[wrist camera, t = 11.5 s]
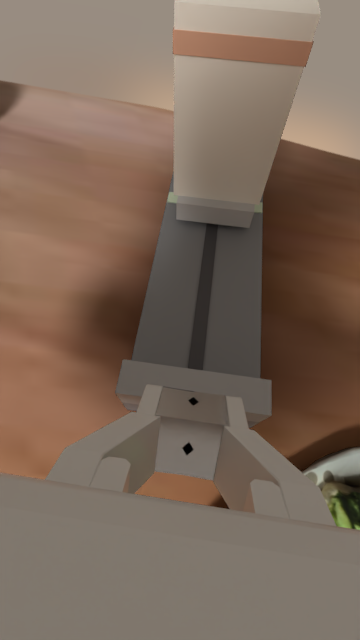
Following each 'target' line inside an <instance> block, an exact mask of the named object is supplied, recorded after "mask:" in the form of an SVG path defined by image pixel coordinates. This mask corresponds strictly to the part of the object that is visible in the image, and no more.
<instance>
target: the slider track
mask: <svg viewBox="0 0 360 640" xmlns="http://www.w3.org/2000/svg"><path fill="white" fill-rule="evenodd" d="M177 199H178V195H174V171H173V176H172V180H171V185H170V189H169V194H168V198H167V203H166V207H165V211H164V216H163V220H162V225H161V229H160V234H159V238H158V243H157V247H156V252H155V256H154V261H153V265H152V269H151V274H150V278H149V283H148V287H147V292H146V296H145V301H144V305H143V310H142V314H141V319H140V323H139V328H138V332H137V336H136V341H135V345H134V350H133V354H132V359H131V360H124V359H123V361H122V366H121V370H120V374H119V378H118V383H117V387H116V391H115V394H116V395H117V396H118V398H119V399H120V400H121V402H122V403H123V405H124V406H125V407H126V409H127V410H133V411H137V409H138V406H139V403H140V400H141V398H142V395H143V392H144V390H145V387H146V385H147V384H152V385H160V386H165V387H171V388H177V389H183V390H189V391H194V392H201V393H210V394H218V395H225V396H235V397H241V398H242V401H243V405H244V409H245V414H246V418H247V422H248V426H249V428H251V427H252V426H254V425H256V424H258V423H259V422H261V421H263V420H265V419H266V418H268V417H270V416H272V392H271V380H267V379H260V365H261V297H262V228H263V195H262V198H261V201H260V204H259V205H256V204H255V206H254V215H253V218H252V221H251V224H250V227H249V228H244V227H236V226H227V225H219V224H210V223H202V222H194V221H185V220H177V219H176V209H177Z"/></svg>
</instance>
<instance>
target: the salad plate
mask: <svg viewBox="0 0 360 640" xmlns="http://www.w3.org/2000/svg"><path fill="white" fill-rule="evenodd" d="M302 473H303V474H304V475H305V476H306V477H308V478H309V479H310V480H311V481H312V482H313V483H314V484H315V485H317V486H318V487H319V488H320V490H321V492H322V495H323V497H324V499H325V501H326V504H327V506H328V508H329V510H330V513H331V515H332V517H333V519H334V522H335V524H336V526H338V527H344V528H350V529H356V530H360V447H353V448H347V449H344V450H341V451H338V452H335V453H332V454H329V455H327V456H325V457H323V458H321V459H319V460H317V461H315V462H314V463H313V464H311V465H310V466H309V467H308V468H307V469H306V470H304V471H302Z"/></svg>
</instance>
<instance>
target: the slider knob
mask: <svg viewBox="0 0 360 640" xmlns="http://www.w3.org/2000/svg"><path fill="white" fill-rule="evenodd" d="M320 16H321V12H320V7H319V2H318V0H175V2H174V28H173V54H174V195H178V199H177V209H176V219H177V220H185V221H194V222H202V223H210V224H219V225H227V226H236V227H244V228H249V227H250V224H251V221H252V218H253V215H254V206H255V204H256V205H259V204H260V201H261V198H262V195H263V192H264V188H265V185H266V182H267V179H268V176H269V173H270V170H271V167H272V164H273V161H274V158H275V155H276V152H277V148H278V145H279V142H280V139H281V136H282V133H283V130H284V127H285V124H286V121H287V117H288V114H289V111H290V108H291V105H292V102H293V99H294V96H295V93H296V90H297V87H298V84H299V80H300V78H301V74H302V71H303V68H304V67H305V66H306V64H307V61H308V58H309V54H310V52H311V48H312V45H313V38H314V34H315V31H316V28H317V25H318V22H319V19H320Z"/></svg>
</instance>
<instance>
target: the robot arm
mask: <svg viewBox="0 0 360 640" xmlns="http://www.w3.org/2000/svg"><path fill="white" fill-rule="evenodd" d="M154 471H156V472H164V473H172V474H180V475H186V476H192V477H197V478H203V479H208V480H213V482H214V484H215V486H216V487H217V489H218V491H219V492H220V494H221V496H222V497H223V499H224V501H225V502H226V504H227V505H228V507H229V509H225V508H219V507H213V506H206V505H200V504H194V503H188V502H181V501H175V500H169V499H163V498H156V497H150V496H144V495H138V494H134V493H135V492H136V491H137V490H138V489H139V488H140V487H141V486H142V485H143V484H144V483H145V482H146V481H147V480H148V479H149V478H150V477H151V476H152V475H153V474H154ZM0 640H360V530H356V529H350V528H344V527H338V526H336V524H335V522H334V519H333V517H332V515H331V513H330V510H329V508H328V506H327V504H326V501H325V499H324V497H323V495H322V492H321V490H320V488H319V487H318V486H317V485H315V484H314V483H313V482H312V481H311V480H310V479H309V478H308V477H306V476H305V475H304V474H303V473H302V472H301V471H300V470H298V469H297V468H296V467H295V466H294V465H293V464H292V463H291V462H289V461H288V460H287V459H286V458H285V457H284V456H283V455H281V454H280V453H279V452H278V451H277V450H276V449H275V448H274V447H272V446H271V445H270V444H269V443H268V442H267V441H266V440H264V439H263V438H262V437H261V436H260V435H259V434H258V433H257V432H255V431H254V430H249V426H248V422H247V418H246V414H245V409H244V405H243V401H242V398H241V397H235V396H225V395H218V394H210V393H201V392H194V391H189V390H183V389H177V388H171V387H165V386H160V385H152V384H147V385H146V387H145V390H144V392H143V395H142V398H141V400H140V403H139V406H138V409H137V411H136V412H130V413H129V414H127V415H125V416H123V417H121V418H119V419H118V420H116V421H114V422H112V423H110V424H108V425H107V426H105V427H103V428H101V429H99V430H97V431H96V432H94V433H92V434H90V435H88V436H86V437H84V438H83V439H81V440H79V441H77V442H75V443H73V444H72V445H70V446H68V447H66V448H65V449H64V451H63V452H62V454H61V455H60V457H59V458H58V460H57V462H56V463H55V465H54V466H53V468H52V469H51V471H50V473H49V474H48V476H47V477H46V479H45V480H44V479H38V478H31V477H25V476H19V475H13V474H7V473H0Z"/></svg>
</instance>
